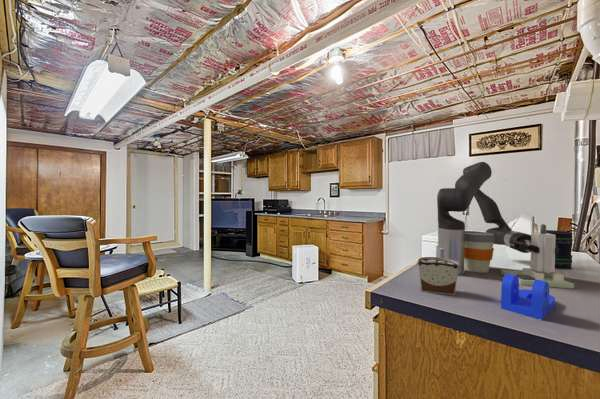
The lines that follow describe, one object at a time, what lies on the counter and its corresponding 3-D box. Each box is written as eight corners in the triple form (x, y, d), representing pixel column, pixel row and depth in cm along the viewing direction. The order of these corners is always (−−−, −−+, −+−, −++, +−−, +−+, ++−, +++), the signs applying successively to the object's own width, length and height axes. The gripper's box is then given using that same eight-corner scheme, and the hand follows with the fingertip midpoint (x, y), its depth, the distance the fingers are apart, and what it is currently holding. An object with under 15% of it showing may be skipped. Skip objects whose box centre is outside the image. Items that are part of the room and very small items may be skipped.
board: (520, 284, 90) (521, 274, 90) (501, 273, 102) (501, 264, 102) (574, 288, 86) (574, 278, 86) (546, 276, 99) (547, 267, 99)
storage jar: (538, 265, 114) (539, 231, 113) (541, 262, 120) (542, 229, 120) (571, 270, 106) (572, 234, 106) (572, 266, 113) (573, 231, 113)
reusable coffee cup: (501, 274, 101) (502, 235, 100) (465, 273, 103) (466, 234, 102) (483, 265, 113) (484, 231, 113) (452, 264, 115) (453, 230, 115)
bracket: (541, 321, 64) (542, 284, 64) (501, 309, 71) (501, 276, 71) (557, 303, 75) (558, 271, 75) (520, 294, 82) (521, 265, 82)
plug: (539, 271, 91) (540, 225, 91) (530, 267, 96) (531, 223, 96) (556, 272, 90) (557, 225, 90) (546, 268, 95) (547, 223, 94)
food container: (455, 288, 86) (456, 258, 86) (460, 295, 80) (460, 263, 80) (414, 284, 90) (415, 255, 90) (416, 290, 84) (416, 259, 84)
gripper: (499, 231, 109) (524, 239, 92) (540, 232, 105) (573, 240, 89) (499, 249, 109) (523, 260, 92) (539, 251, 106) (572, 262, 89)
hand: (547, 250), depth 91 cm, fingers closed on plug, 5 cm apart
